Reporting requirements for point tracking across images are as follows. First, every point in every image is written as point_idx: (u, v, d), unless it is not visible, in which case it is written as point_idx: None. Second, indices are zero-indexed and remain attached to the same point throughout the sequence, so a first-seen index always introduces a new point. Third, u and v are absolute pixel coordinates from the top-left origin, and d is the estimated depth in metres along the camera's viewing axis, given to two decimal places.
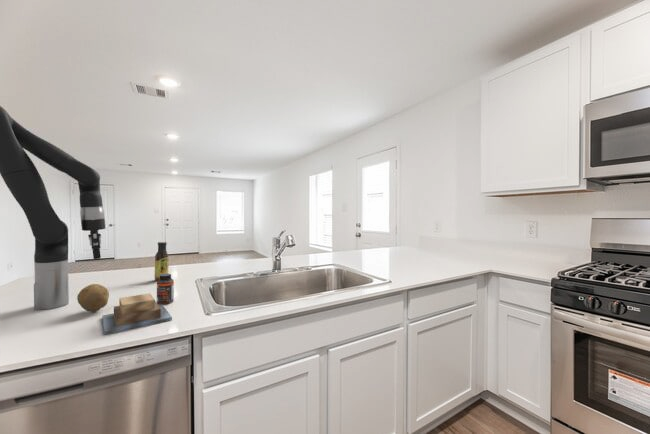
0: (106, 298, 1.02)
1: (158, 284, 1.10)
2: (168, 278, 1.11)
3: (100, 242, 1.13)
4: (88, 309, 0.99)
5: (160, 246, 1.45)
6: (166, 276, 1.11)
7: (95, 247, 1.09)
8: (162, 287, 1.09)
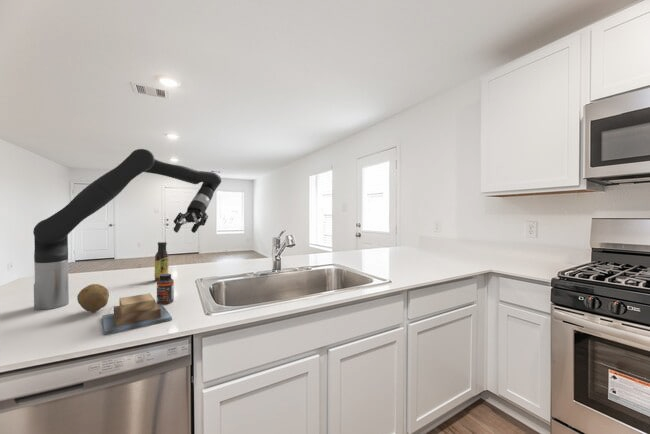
0: (106, 298, 1.02)
1: (158, 284, 1.10)
2: (168, 278, 1.11)
3: None
4: (88, 309, 0.99)
5: (160, 246, 1.45)
6: (166, 276, 1.11)
7: (202, 222, 1.25)
8: (162, 287, 1.09)
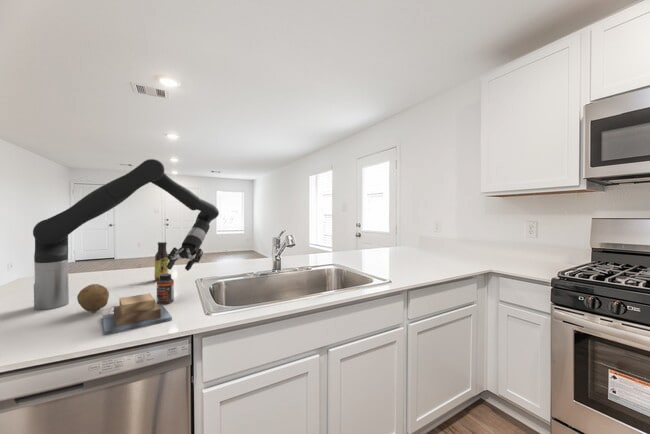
0: (106, 298, 1.02)
1: (158, 284, 1.10)
2: (168, 278, 1.11)
3: (194, 259, 1.24)
4: (88, 309, 0.99)
5: (160, 246, 1.45)
6: (166, 276, 1.11)
7: (197, 259, 1.22)
8: (162, 287, 1.09)
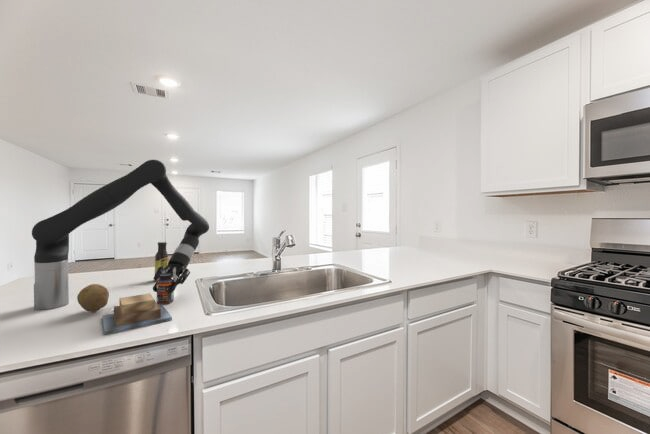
0: (106, 298, 1.02)
1: (158, 284, 1.10)
2: (168, 278, 1.11)
3: None
4: (88, 309, 0.99)
5: (160, 246, 1.45)
6: (166, 276, 1.11)
7: (181, 281, 1.13)
8: (162, 287, 1.09)
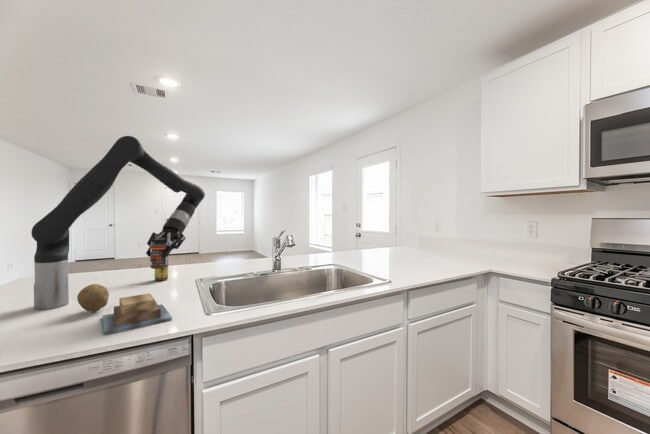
0: (106, 298, 1.02)
1: (152, 248, 1.05)
2: (162, 242, 1.07)
3: None
4: (88, 309, 0.99)
5: None
6: (160, 240, 1.07)
7: (176, 246, 1.09)
8: (156, 251, 1.05)
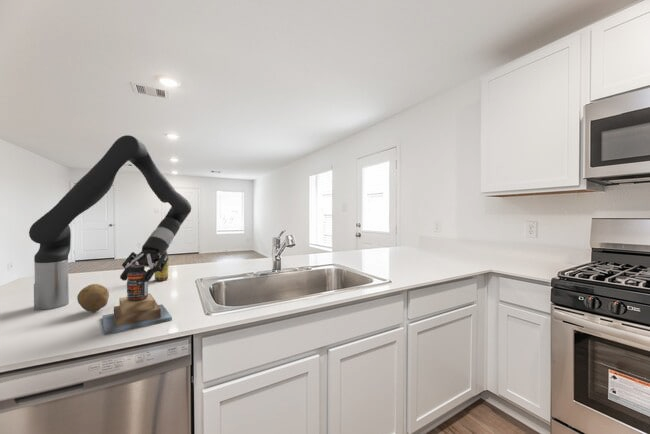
0: (106, 298, 1.02)
1: (128, 277, 0.93)
2: (140, 270, 0.94)
3: None
4: (88, 309, 0.99)
5: None
6: (138, 267, 0.94)
7: (159, 268, 0.96)
8: (133, 281, 0.92)
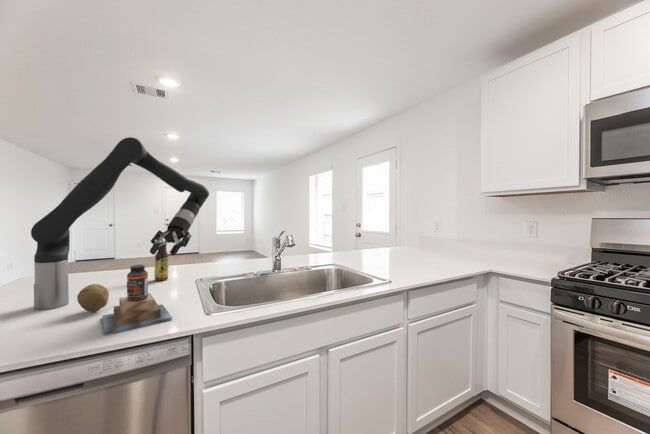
0: (106, 298, 1.02)
1: (128, 277, 0.92)
2: (140, 270, 0.94)
3: None
4: (88, 309, 0.99)
5: (160, 246, 1.45)
6: (138, 267, 0.94)
7: (184, 243, 1.08)
8: (133, 281, 0.92)
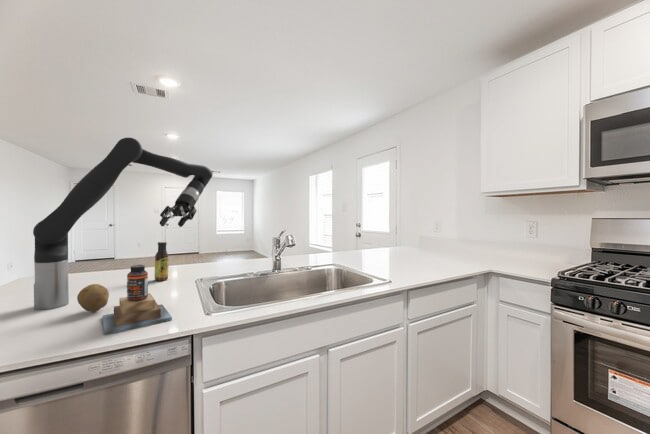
0: (106, 298, 1.02)
1: (128, 277, 0.93)
2: (141, 270, 0.94)
3: None
4: (88, 309, 0.99)
5: (160, 246, 1.45)
6: (138, 267, 0.94)
7: (190, 216, 1.19)
8: (133, 281, 0.92)
